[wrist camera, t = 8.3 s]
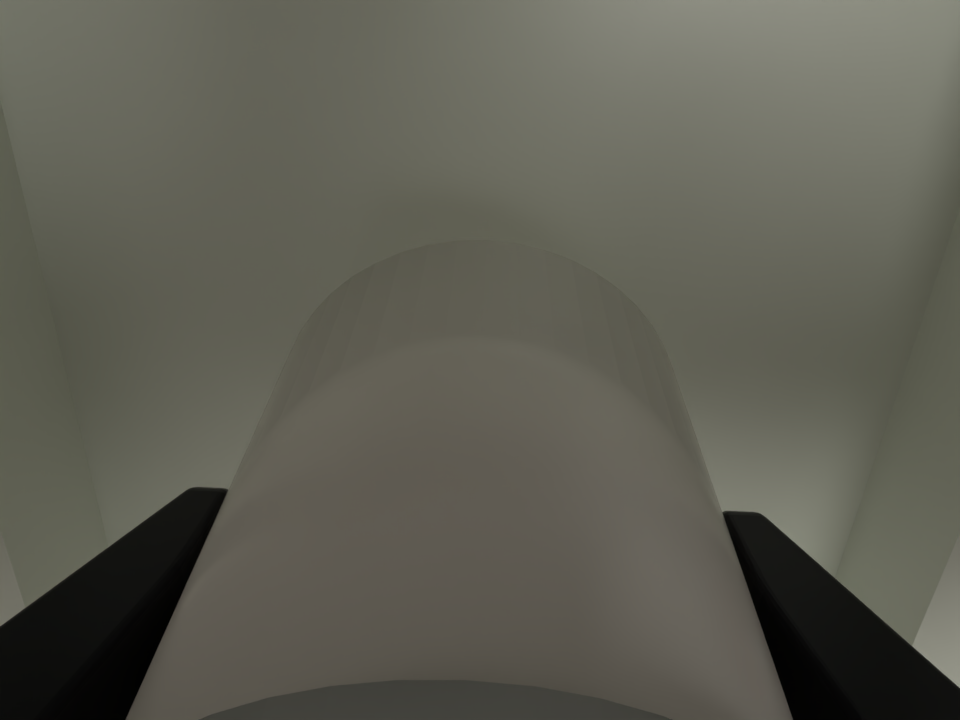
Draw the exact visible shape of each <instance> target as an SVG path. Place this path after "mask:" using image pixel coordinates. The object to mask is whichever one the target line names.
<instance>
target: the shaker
mask: <svg viewBox="0 0 960 720" xmlns="http://www.w3.org/2000/svg"><path fill="white" fill-rule="evenodd" d="M126 720H793V718H792V715H791V712H790V709H789V706H788V703H787V700H786V697H785V695H784V692H783V689H782V686H781V683H780V680H779V677H778V674H777V671H776V668H775V665H774V662H773V659H772V656H771V653H770V651H769V648H768V645H767V642H766V639H765V636H764V633H763V630H762V627H761V624H760V621H759V618H758V615H757V612H756V610H755V607H754V604H753V601H752V598H751V595H750V592H749V589H748V586H747V583H746V580H745V577H744V574H743V571H742V568H741V566H740V563H739V560H738V557H737V554H736V551H735V548H734V545H733V542H732V539H731V536H730V533H729V530H728V527H727V525H726V522H725V519H724V516H723V513H722V510H721V507H720V504H719V501H718V498H717V495H716V492H715V489H714V486H713V484H712V481H711V478H710V475H709V472H708V469H707V466H706V463H705V460H704V457H703V454H702V451H701V448H700V445H699V442H698V440H697V437H696V434H695V431H694V428H693V425H692V422H691V419H690V416H689V413H688V410H687V407H686V404H685V401H684V399H683V396H682V393H681V390H680V387H679V384H678V381H677V378H676V375H675V372H674V369H673V367H672V364H671V361H670V359H669V356H668V354H667V351H666V348H665V346H664V344H663V343H662V341H661V339H660V337H659V336H658V334H657V332H656V331H655V329H654V327H653V325H652V324H651V323H650V322H649V320H648V319H647V318H646V317H645V315H644V314H643V313H642V312H641V310H640V309H639V308H638V307H637V306H636V305H635V304H634V303H633V302H632V301H631V300H630V299H629V298H628V297H627V296H626V295H625V294H624V293H623V292H622V291H621V290H619V289H618V288H617V287H616V286H614V285H613V284H611V283H610V282H609V281H607V280H606V279H604V278H603V277H602V276H600V275H599V274H597V273H596V272H594V271H592V270H590V269H588V268H586V267H584V266H583V265H581V264H579V263H577V262H575V261H573V260H571V259H568V258H566V257H563V256H560V255H557V254H555V253H552V252H549V251H547V250H544V249H539V248H535V247H531V246H527V245H522V244H518V243H511V242H501V241H492V240H457V241H450V242H443V243H436V244H429V245H425V246H422V247H418V248H414V249H411V250H407V251H403V252H400V253H398V254H395V255H393V256H391V257H388V258H386V259H383V260H381V261H379V262H376V263H374V264H373V265H371V266H369V267H367V268H366V269H364V270H362V271H361V272H359V273H357V274H355V275H354V276H352V277H351V278H350V279H348V280H347V281H346V282H344V283H343V284H342V285H341V286H339V287H338V288H337V289H336V290H334V291H333V292H332V293H331V294H330V295H329V296H328V297H327V298H326V299H325V300H324V301H323V302H322V303H321V304H320V305H319V306H318V307H317V309H316V310H315V311H314V312H313V313H312V315H311V316H310V318H309V319H308V321H307V322H306V323H305V325H304V326H303V328H302V329H301V331H300V333H299V335H298V337H297V339H296V341H295V343H294V345H293V347H292V349H291V351H290V353H289V355H288V358H287V360H286V362H285V364H284V367H283V369H282V371H281V373H280V376H279V378H278V380H277V382H276V384H275V387H274V389H273V391H272V393H271V396H270V398H269V400H268V402H267V405H266V407H265V409H264V411H263V414H262V416H261V418H260V420H259V422H258V425H257V427H256V429H255V431H254V434H253V436H252V438H251V440H250V443H249V445H248V447H247V449H246V452H245V454H244V456H243V458H242V460H241V463H240V465H239V467H238V469H237V472H236V474H235V476H234V478H233V481H232V483H231V485H230V487H229V490H228V492H227V494H226V496H225V498H224V501H223V503H222V505H221V507H220V510H219V512H218V514H217V516H216V519H215V521H214V523H213V525H212V528H211V530H210V532H209V534H208V536H207V539H206V541H205V543H204V545H203V548H202V550H201V552H200V554H199V557H198V559H197V561H196V563H195V566H194V568H193V570H192V572H191V574H190V577H189V579H188V581H187V583H186V586H185V588H184V590H183V592H182V595H181V597H180V599H179V601H178V604H177V606H176V608H175V610H174V612H173V615H172V617H171V619H170V621H169V624H168V626H167V628H166V630H165V633H164V635H163V637H162V639H161V642H160V644H159V646H158V648H157V650H156V653H155V655H154V657H153V659H152V662H151V664H150V666H149V668H148V671H147V673H146V675H145V677H144V680H143V682H142V684H141V686H140V688H139V691H138V693H137V695H136V697H135V700H134V702H133V704H132V706H131V709H130V711H129V713H128V715H127V718H126Z"/></svg>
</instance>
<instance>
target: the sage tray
mask: <svg viewBox="0 0 960 720" xmlns="http://www.w3.org/2000/svg"><path fill="white" fill-rule="evenodd" d="M457 240H492V241H501V242H511V243H518V244H522V245H527V246H531V247H535V248H539V249H544V250H547V251H549V252H552V253H555V254H557V255H560V256H563V257H566V258H568V259H571V260H573V261H575V262H577V263H579V264H581V265H583V266H584V267H586V268H588V269H590V270H592V271H594V272H596V273H597V274H599V275H600V276H602V277H603V278H604V279H606V280H607V281H609V282H610V283H611V284H613V285H614V286H616V287H617V288H618V289H619V290H621V291H622V292H623V293H624V294H625V295H626V296H627V297H628V298H629V299H630V300H631V301H632V302H633V303H634V304H635V305H636V306H637V307H638V308H639V309H640V310H641V312H642V313H643V314H644V315H645V317H646V318H647V319H648V320H649V322H650V323H651V324H652V325H653V327H654V329H655V331H656V332H657V334H658V336H659V337H660V339H661V341H662V343H663V344H664V346H665V348H666V351H667V354H668V356H669V359H670V361H671V364H672V367H673V369H674V372H675V375H676V378H677V381H678V384H679V387H680V390H681V393H682V396H683V399H684V401H685V404H686V407H687V410H688V413H689V416H690V419H691V422H692V425H693V428H694V431H695V434H696V437H697V440H698V442H699V445H700V448H701V451H702V454H703V457H704V460H705V463H706V466H707V469H708V472H709V475H710V478H711V481H712V484H713V486H714V489H715V492H716V495H717V498H718V501H719V504H720V507H721V510H722V512H724V511H748V512H758V513H760V514H762V515H764V516H765V517H766V518H767V519H769V520H770V521H771V522H772V523H773V524H774V525H775V526H777V527H778V528H779V529H780V530H781V531H782V532H783V533H784V534H786V535H787V536H788V537H789V538H790V539H791V540H792V541H794V542H795V543H796V544H797V545H798V546H799V547H800V548H801V549H803V550H804V551H805V552H806V553H807V554H808V555H809V556H811V557H812V558H813V559H814V560H815V561H816V562H817V563H819V564H820V565H821V566H822V567H823V568H824V569H825V570H826V571H828V572H829V573H830V574H831V575H832V576H833V577H834V578H836V579H837V580H838V581H839V582H840V583H841V584H842V585H843V586H845V587H846V588H847V589H848V590H849V591H850V592H851V593H853V594H854V595H855V596H856V597H857V598H858V599H859V600H860V601H862V602H863V603H864V604H865V605H866V606H867V607H868V608H870V609H871V610H872V611H873V612H874V613H875V614H876V615H877V616H879V617H880V618H881V619H882V620H883V621H884V622H885V623H887V624H888V625H889V626H890V627H891V628H892V629H893V630H895V631H896V632H897V633H898V634H899V635H900V636H901V637H902V638H904V639H905V640H906V641H907V642H908V643H909V644H910V645H912V646H913V647H914V648H915V649H916V650H917V651H918V652H919V653H921V654H922V655H923V656H924V657H925V658H926V659H927V660H929V661H930V662H931V663H932V664H933V665H934V666H935V667H936V668H938V669H939V670H940V671H941V672H942V673H943V674H944V675H946V676H947V677H948V678H949V679H950V680H951V681H952V682H953V683H955V684H956V685H957V686H958V687H959V688H960V0H0V626H1V625H2V624H4V623H5V622H7V621H8V620H9V619H11V618H12V617H13V616H15V615H16V614H17V613H19V612H20V611H22V610H23V609H24V608H26V607H27V606H28V605H30V604H31V603H32V602H34V601H35V600H37V599H38V598H39V597H41V596H42V595H43V594H45V593H46V592H48V591H49V590H50V589H52V588H53V587H54V586H56V585H57V584H58V583H60V582H61V581H63V580H64V579H65V578H67V577H68V576H69V575H71V574H72V573H73V572H75V571H76V570H78V569H79V568H80V567H82V566H83V565H84V564H86V563H87V562H89V561H90V560H91V559H93V558H94V557H95V556H97V555H98V554H99V553H101V552H102V551H104V550H105V549H106V548H108V547H109V546H110V545H112V544H113V543H114V542H116V541H117V540H119V539H120V538H121V537H123V536H124V535H125V534H127V533H128V532H130V531H131V530H132V529H134V528H135V527H136V526H138V525H139V524H140V523H142V522H143V521H145V520H146V519H147V518H149V517H150V516H151V515H153V514H154V513H155V512H157V511H158V510H160V509H161V508H162V507H164V506H165V505H166V504H168V503H169V502H170V501H172V500H173V499H175V498H176V497H177V496H179V495H180V494H181V493H183V492H184V491H186V490H187V489H189V488H192V487H213V488H226V489H228V490H229V487H230V485H231V483H232V481H233V478H234V476H235V474H236V472H237V469H238V467H239V465H240V463H241V460H242V458H243V456H244V454H245V452H246V449H247V447H248V445H249V443H250V440H251V438H252V436H253V434H254V431H255V429H256V427H257V425H258V422H259V420H260V418H261V416H262V414H263V411H264V409H265V407H266V405H267V402H268V400H269V398H270V396H271V393H272V391H273V389H274V387H275V384H276V382H277V380H278V378H279V376H280V373H281V371H282V369H283V367H284V364H285V362H286V360H287V358H288V355H289V353H290V351H291V349H292V347H293V345H294V343H295V341H296V339H297V337H298V335H299V333H300V331H301V329H302V328H303V326H304V325H305V323H306V322H307V321H308V319H309V318H310V316H311V315H312V313H313V312H314V311H315V310H316V309H317V307H318V306H319V305H320V304H321V303H322V302H323V301H324V300H325V299H326V298H327V297H328V296H329V295H330V294H331V293H332V292H333V291H334V290H336V289H337V288H338V287H339V286H341V285H342V284H343V283H344V282H346V281H347V280H348V279H350V278H351V277H352V276H354V275H355V274H357V273H359V272H361V271H362V270H364V269H366V268H367V267H369V266H371V265H373V264H374V263H376V262H379V261H381V260H383V259H386V258H388V257H391V256H393V255H395V254H398V253H400V252H403V251H407V250H411V249H414V248H418V247H422V246H425V245H429V244H436V243H443V242H450V241H457Z"/></svg>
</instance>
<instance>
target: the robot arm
mask: <svg viewBox="0 0 960 720" xmlns="http://www.w3.org/2000/svg"><path fill="white" fill-rule="evenodd" d="M227 492H228V489H226V488H213V487H192V488H189V489H187V490H186V491H184V492H183V493H181V494H180V495H179V496H177V497H176V498H175V499H173V500H172V501H170V502H169V503H168V504H166V505H165V506H164V507H162V508H161V509H160V510H158V511H157V512H155V513H154V514H153V515H151V516H150V517H149V518H147V519H146V520H145V521H143V522H142V523H140V524H139V525H138V526H136V527H135V528H134V529H132V530H131V531H130V532H128V533H127V534H125V535H124V536H123V537H121V538H120V539H119V540H117V541H116V542H114V543H113V544H112V545H110V546H109V547H108V548H106V549H105V550H104V551H102V552H101V553H99V554H98V555H97V556H95V557H94V558H93V559H91V560H90V561H89V562H87V563H86V564H84V565H83V566H82V567H80V568H79V569H78V570H76V571H75V572H73V573H72V574H71V575H69V576H68V577H67V578H65V579H64V580H63V581H61V582H60V583H58V584H57V585H56V586H54V587H53V588H52V589H50V590H49V591H48V592H46V593H45V594H43V595H42V596H41V597H39V598H38V599H37V600H35V601H34V602H32V603H31V604H30V605H28V606H27V607H26V608H24V609H23V610H22V611H20V612H19V613H17V614H16V615H15V616H13V617H12V618H11V619H9V620H8V621H7V622H5V623H4V624H2V625H1V626H0V720H126V718H127V715H128V713H129V711H130V709H131V706H132V704H133V702H134V700H135V697H136V695H137V693H138V691H139V688H140V686H141V684H142V682H143V680H144V677H145V675H146V673H147V671H148V668H149V666H150V664H151V662H152V659H153V657H154V655H155V653H156V650H157V648H158V646H159V644H160V642H161V639H162V637H163V635H164V633H165V630H166V628H167V626H168V624H169V621H170V619H171V617H172V615H173V612H174V610H175V608H176V606H177V604H178V601H179V599H180V597H181V595H182V592H183V590H184V588H185V586H186V583H187V581H188V579H189V577H190V574H191V572H192V570H193V568H194V566H195V563H196V561H197V559H198V557H199V554H200V552H201V550H202V548H203V545H204V543H205V541H206V539H207V536H208V534H209V532H210V530H211V528H212V525H213V523H214V521H215V519H216V516H217V514H218V512H219V510H220V507H221V505H222V503H223V501H224V498H225V496H226V494H227ZM722 513H723V516H724V519H725V522H726V525H727V527H728V530H729V533H730V536H731V539H732V542H733V545H734V548H735V551H736V554H737V557H738V560H739V563H740V566H741V568H742V571H743V574H744V577H745V580H746V583H747V586H748V589H749V592H750V595H751V598H752V601H753V604H754V607H755V610H756V612H757V615H758V618H759V621H760V624H761V627H762V630H763V633H764V636H765V639H766V642H767V645H768V648H769V651H770V653H771V656H772V659H773V662H774V665H775V668H776V671H777V674H778V677H779V680H780V683H781V686H782V689H783V692H784V695H785V697H786V700H787V703H788V706H789V709H790V712H791V715H792V718H793V720H960V688H959V687H958V686H957V685H956V684H955V683H953V682H952V681H951V680H950V679H949V678H948V677H947V676H946V675H944V674H943V673H942V672H941V671H940V670H939V669H938V668H936V667H935V666H934V665H933V664H932V663H931V662H930V661H929V660H927V659H926V658H925V657H924V656H923V655H922V654H921V653H919V652H918V651H917V650H916V649H915V648H914V647H913V646H912V645H910V644H909V643H908V642H907V641H906V640H905V639H904V638H902V637H901V636H900V635H899V634H898V633H897V632H896V631H895V630H893V629H892V628H891V627H890V626H889V625H888V624H887V623H885V622H884V621H883V620H882V619H881V618H880V617H879V616H877V615H876V614H875V613H874V612H873V611H872V610H871V609H870V608H868V607H867V606H866V605H865V604H864V603H863V602H862V601H860V600H859V599H858V598H857V597H856V596H855V595H854V594H853V593H851V592H850V591H849V590H848V589H847V588H846V587H845V586H843V585H842V584H841V583H840V582H839V581H838V580H837V579H836V578H834V577H833V576H832V575H831V574H830V573H829V572H828V571H826V570H825V569H824V568H823V567H822V566H821V565H820V564H819V563H817V562H816V561H815V560H814V559H813V558H812V557H811V556H809V555H808V554H807V553H806V552H805V551H804V550H803V549H801V548H800V547H799V546H798V545H797V544H796V543H795V542H794V541H792V540H791V539H790V538H789V537H788V536H787V535H786V534H784V533H783V532H782V531H781V530H780V529H779V528H778V527H777V526H775V525H774V524H773V523H772V522H771V521H770V520H769V519H767V518H766V517H765V516H764V515H762V514H760V513H758V512H748V511H724V512H722Z"/></svg>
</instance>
